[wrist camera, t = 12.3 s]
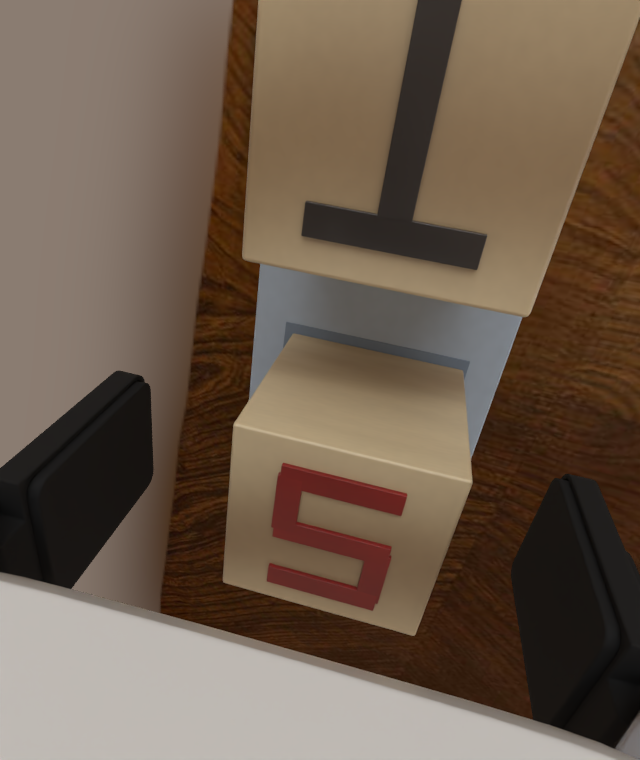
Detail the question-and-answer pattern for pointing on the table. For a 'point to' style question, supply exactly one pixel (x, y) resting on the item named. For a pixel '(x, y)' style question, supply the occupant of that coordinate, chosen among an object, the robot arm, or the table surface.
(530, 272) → the tile
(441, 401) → the tile
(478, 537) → the table surface
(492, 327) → the grey display stand
